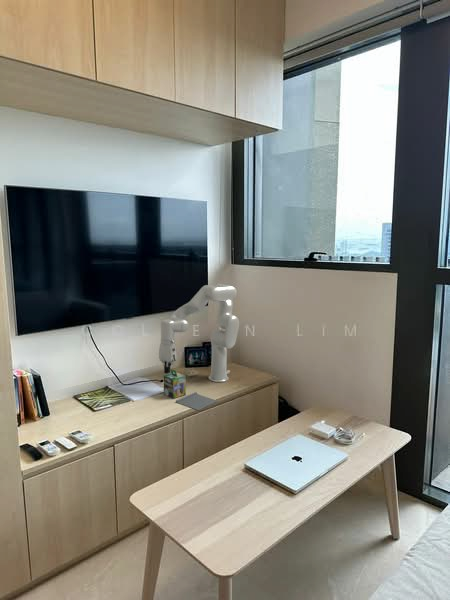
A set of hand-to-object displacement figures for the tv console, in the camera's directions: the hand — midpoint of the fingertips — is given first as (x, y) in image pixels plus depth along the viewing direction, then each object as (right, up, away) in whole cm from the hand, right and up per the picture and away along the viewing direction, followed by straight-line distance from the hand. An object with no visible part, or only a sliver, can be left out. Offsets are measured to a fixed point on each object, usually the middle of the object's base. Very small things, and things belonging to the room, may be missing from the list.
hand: (167, 372), depth 229 cm
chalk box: (+4, -12, -3) cm, 13 cm away
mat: (+18, -14, -12) cm, 25 cm away
